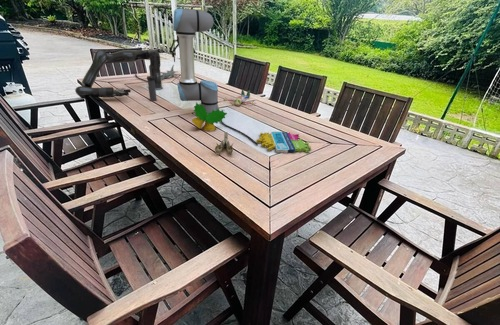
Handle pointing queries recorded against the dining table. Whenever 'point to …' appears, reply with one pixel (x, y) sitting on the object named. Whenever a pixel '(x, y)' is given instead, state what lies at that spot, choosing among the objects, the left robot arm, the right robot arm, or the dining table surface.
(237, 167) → the dining table surface
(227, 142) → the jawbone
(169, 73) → the airplane
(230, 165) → the dining table surface
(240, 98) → the toy
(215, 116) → the ornament
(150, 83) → the jar
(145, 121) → the dining table surface
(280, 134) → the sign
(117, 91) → the left robot arm
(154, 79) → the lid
